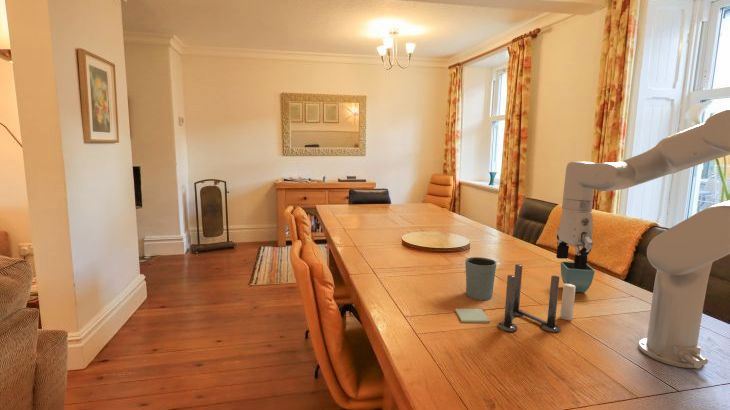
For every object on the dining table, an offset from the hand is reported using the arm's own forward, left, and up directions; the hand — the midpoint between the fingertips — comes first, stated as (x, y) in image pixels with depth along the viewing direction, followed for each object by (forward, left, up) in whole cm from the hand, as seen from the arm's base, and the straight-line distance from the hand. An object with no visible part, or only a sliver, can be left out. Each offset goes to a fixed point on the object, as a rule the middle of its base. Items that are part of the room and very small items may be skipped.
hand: (570, 263), depth 112 cm
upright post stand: (-2, +14, -17) cm, 22 cm away
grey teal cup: (+17, +21, -17) cm, 32 cm away
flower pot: (+23, -15, -17) cm, 32 cm away
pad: (0, +28, -17) cm, 32 cm away
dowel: (0, 0, -17) cm, 17 cm away
